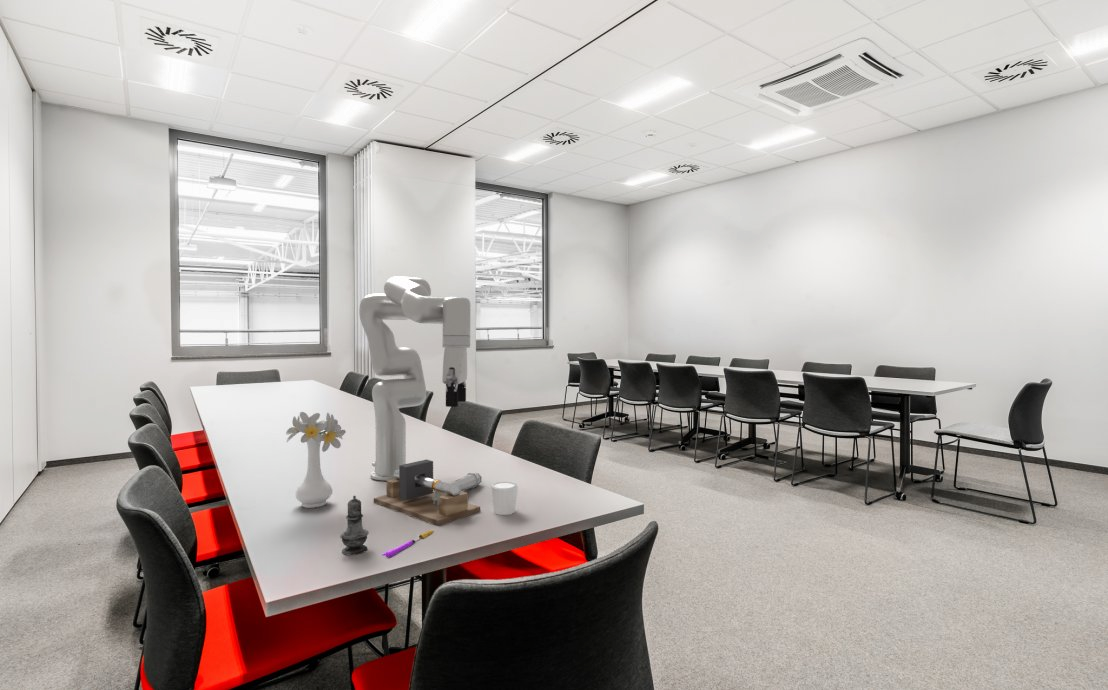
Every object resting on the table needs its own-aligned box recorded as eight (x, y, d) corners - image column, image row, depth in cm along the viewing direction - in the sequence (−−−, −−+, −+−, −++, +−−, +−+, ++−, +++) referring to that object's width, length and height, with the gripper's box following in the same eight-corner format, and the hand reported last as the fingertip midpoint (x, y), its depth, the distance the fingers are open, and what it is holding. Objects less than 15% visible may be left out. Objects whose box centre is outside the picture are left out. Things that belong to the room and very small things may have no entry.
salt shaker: (352, 557, 114) (351, 501, 114) (334, 551, 117) (333, 496, 117) (374, 548, 119) (374, 494, 119) (357, 542, 122) (356, 489, 122)
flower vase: (321, 517, 139) (320, 419, 138) (273, 506, 147) (272, 414, 146) (360, 502, 150) (359, 412, 150) (313, 493, 159) (313, 408, 158)
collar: (399, 498, 147) (399, 465, 147) (426, 490, 154) (426, 459, 154) (406, 500, 146) (405, 467, 145) (433, 493, 152) (433, 461, 152)
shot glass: (510, 517, 139) (510, 490, 139) (486, 514, 142) (486, 487, 142) (521, 509, 146) (521, 483, 146) (498, 506, 148) (498, 480, 148)
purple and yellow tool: (389, 558, 114) (434, 533, 129) (388, 553, 114) (433, 528, 129) (379, 559, 115) (425, 534, 130) (378, 553, 115) (424, 529, 130)
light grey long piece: (484, 472, 168) (447, 483, 144) (482, 494, 168) (445, 509, 144) (468, 471, 170) (429, 481, 146) (467, 493, 169) (427, 507, 145)
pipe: (393, 479, 155) (393, 470, 154) (401, 477, 157) (401, 468, 157) (453, 497, 138) (453, 487, 138) (461, 495, 140) (461, 484, 140)
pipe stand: (373, 502, 151) (373, 482, 151) (415, 491, 162) (415, 472, 162) (437, 525, 133) (437, 503, 133) (480, 511, 144) (480, 490, 144)
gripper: (450, 341, 159) (450, 399, 159) (434, 342, 142) (434, 408, 142) (476, 341, 158) (475, 400, 159) (462, 343, 141) (462, 409, 142)
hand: (456, 404), depth 151 cm, fingers open, 9 cm apart
